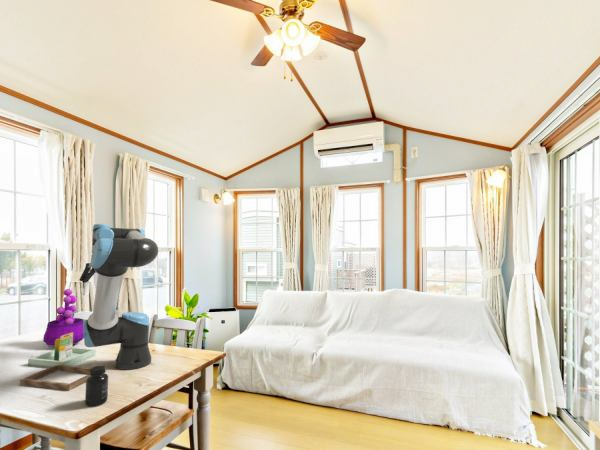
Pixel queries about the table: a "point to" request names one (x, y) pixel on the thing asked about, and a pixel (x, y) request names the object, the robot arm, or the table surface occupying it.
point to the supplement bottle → (96, 387)
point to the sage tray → (49, 361)
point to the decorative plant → (65, 322)
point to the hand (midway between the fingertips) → (97, 295)
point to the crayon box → (63, 347)
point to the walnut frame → (56, 385)
